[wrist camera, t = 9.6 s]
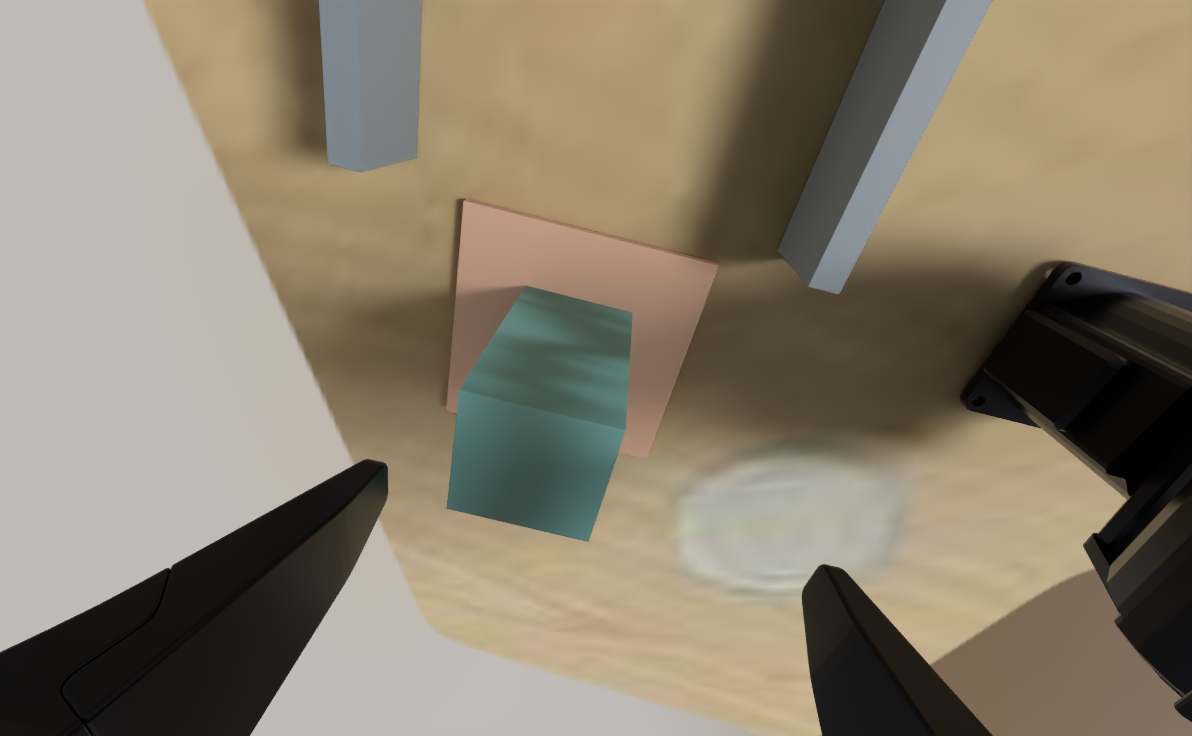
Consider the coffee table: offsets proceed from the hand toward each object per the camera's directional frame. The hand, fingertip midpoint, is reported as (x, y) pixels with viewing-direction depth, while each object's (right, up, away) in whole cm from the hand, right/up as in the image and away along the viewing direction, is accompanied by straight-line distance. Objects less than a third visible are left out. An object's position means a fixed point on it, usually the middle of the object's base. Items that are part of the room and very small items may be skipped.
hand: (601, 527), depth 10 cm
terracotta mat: (-1, +4, +11) cm, 12 cm away
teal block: (-1, +4, +11) cm, 12 cm away
